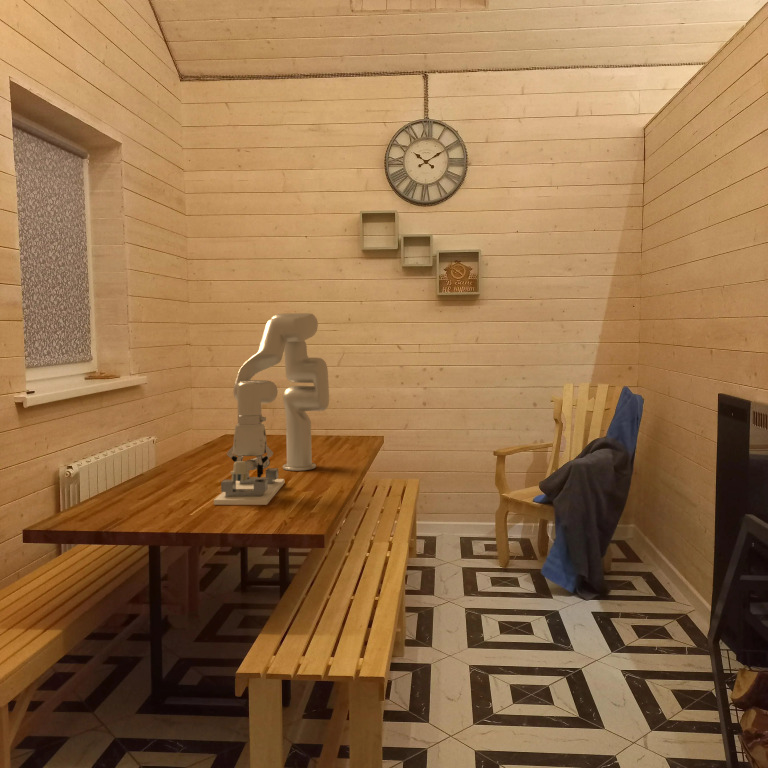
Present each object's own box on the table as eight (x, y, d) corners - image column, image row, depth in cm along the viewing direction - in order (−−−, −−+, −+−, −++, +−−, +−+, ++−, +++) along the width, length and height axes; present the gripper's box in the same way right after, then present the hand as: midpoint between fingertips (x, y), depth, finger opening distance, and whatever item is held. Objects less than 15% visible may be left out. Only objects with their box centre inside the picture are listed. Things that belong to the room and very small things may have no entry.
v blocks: (238, 481, 231) (238, 468, 231) (278, 481, 231) (278, 468, 230) (221, 496, 209) (221, 482, 209) (265, 496, 209) (264, 482, 208)
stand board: (238, 483, 235) (238, 478, 235) (284, 483, 235) (284, 478, 235) (213, 504, 205) (213, 499, 205) (266, 504, 205) (266, 499, 205)
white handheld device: (272, 456, 231) (244, 459, 207) (271, 475, 231) (243, 481, 206) (257, 455, 232) (228, 458, 208) (256, 475, 232) (227, 480, 207)
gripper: (278, 419, 222) (278, 474, 222) (226, 419, 222) (227, 474, 223) (273, 421, 214) (274, 479, 215) (219, 421, 215) (220, 478, 216)
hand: (250, 476), depth 219 cm, fingers closed on white handheld device, 5 cm apart
